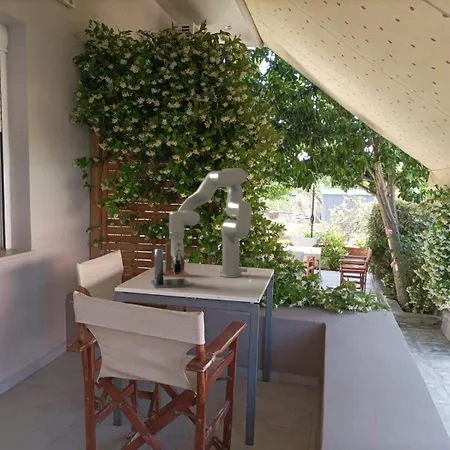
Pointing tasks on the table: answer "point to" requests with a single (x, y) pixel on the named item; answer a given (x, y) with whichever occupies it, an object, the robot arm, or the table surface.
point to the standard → (166, 274)
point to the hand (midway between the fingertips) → (176, 271)
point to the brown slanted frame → (170, 258)
